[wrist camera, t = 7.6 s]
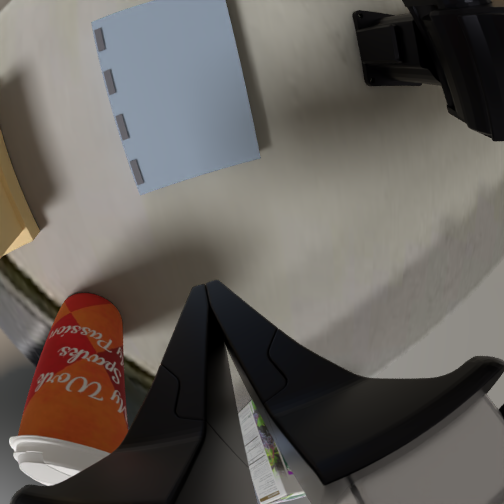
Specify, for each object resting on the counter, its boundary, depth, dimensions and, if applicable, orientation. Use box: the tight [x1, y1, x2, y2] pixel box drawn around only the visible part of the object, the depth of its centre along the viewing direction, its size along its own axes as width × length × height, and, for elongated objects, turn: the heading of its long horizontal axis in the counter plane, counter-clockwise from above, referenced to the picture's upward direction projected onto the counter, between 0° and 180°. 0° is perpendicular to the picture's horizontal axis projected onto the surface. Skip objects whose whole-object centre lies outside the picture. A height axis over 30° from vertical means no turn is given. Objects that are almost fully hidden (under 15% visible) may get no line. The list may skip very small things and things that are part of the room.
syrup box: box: [238, 400, 306, 504], centre depth 30 cm, size 6×6×14 cm
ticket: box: [91, 0, 261, 195], centre depth 15 cm, size 8×12×2 cm, turn 12°
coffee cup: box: [9, 293, 128, 486], centre depth 16 cm, size 8×8×15 cm
